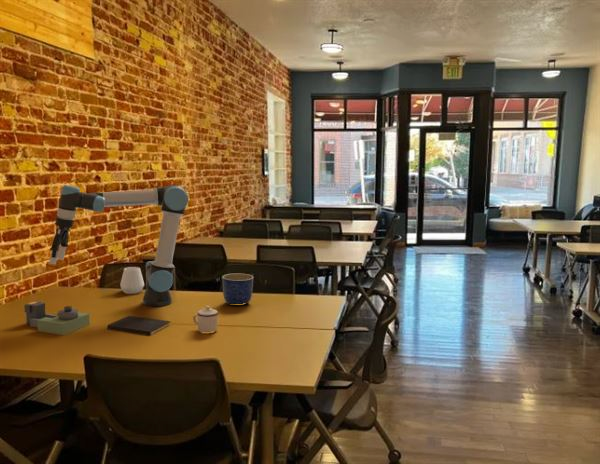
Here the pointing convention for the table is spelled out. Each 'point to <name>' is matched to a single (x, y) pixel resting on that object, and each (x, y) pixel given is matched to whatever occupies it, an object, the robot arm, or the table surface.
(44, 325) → the flat slab with knob
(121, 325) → the hardcover book
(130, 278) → the cup
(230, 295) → the planter
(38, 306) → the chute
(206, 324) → the teacup with lid
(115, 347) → the table surface
